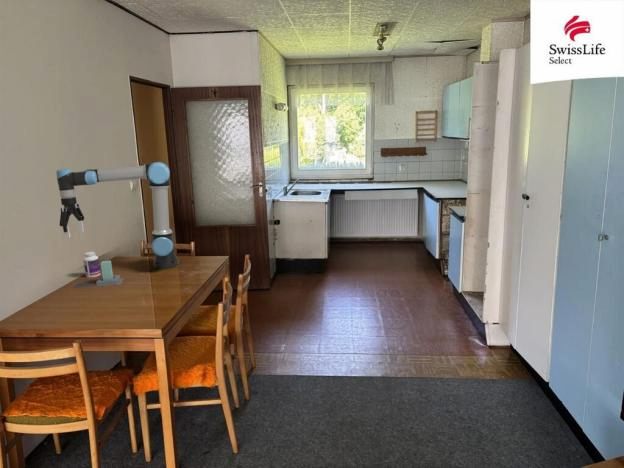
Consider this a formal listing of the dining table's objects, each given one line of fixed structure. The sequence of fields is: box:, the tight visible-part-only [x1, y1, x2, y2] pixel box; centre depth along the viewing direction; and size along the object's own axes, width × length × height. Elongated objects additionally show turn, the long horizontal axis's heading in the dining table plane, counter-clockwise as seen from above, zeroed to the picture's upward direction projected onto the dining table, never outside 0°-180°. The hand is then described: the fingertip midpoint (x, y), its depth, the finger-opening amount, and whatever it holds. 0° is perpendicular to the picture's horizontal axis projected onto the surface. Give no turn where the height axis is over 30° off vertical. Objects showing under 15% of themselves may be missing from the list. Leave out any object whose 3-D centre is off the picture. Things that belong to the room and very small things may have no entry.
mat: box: [73, 280, 96, 289], centre depth 261 cm, size 9×9×1 cm
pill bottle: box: [82, 251, 102, 278], centre depth 275 cm, size 8×8×14 cm
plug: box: [100, 260, 114, 281], centre depth 260 cm, size 4×4×12 cm
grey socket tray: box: [93, 274, 124, 288], centre depth 262 cm, size 14×11×3 cm
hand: (74, 234), depth 263 cm, fingers open, 13 cm apart
